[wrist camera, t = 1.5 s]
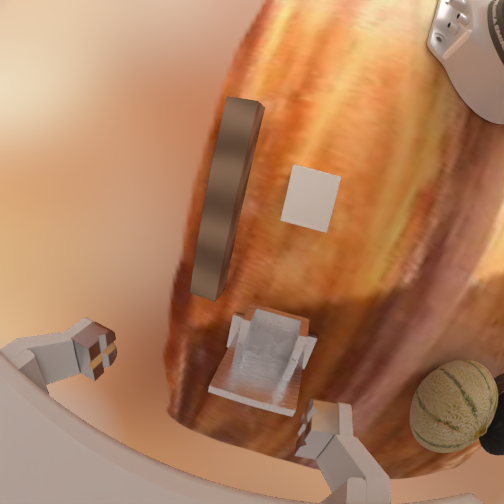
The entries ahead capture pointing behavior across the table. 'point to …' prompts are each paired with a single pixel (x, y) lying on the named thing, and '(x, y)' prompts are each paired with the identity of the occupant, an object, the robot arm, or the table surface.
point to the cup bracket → (264, 359)
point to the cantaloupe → (453, 406)
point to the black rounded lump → (496, 424)
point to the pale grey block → (310, 198)
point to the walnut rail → (225, 195)
